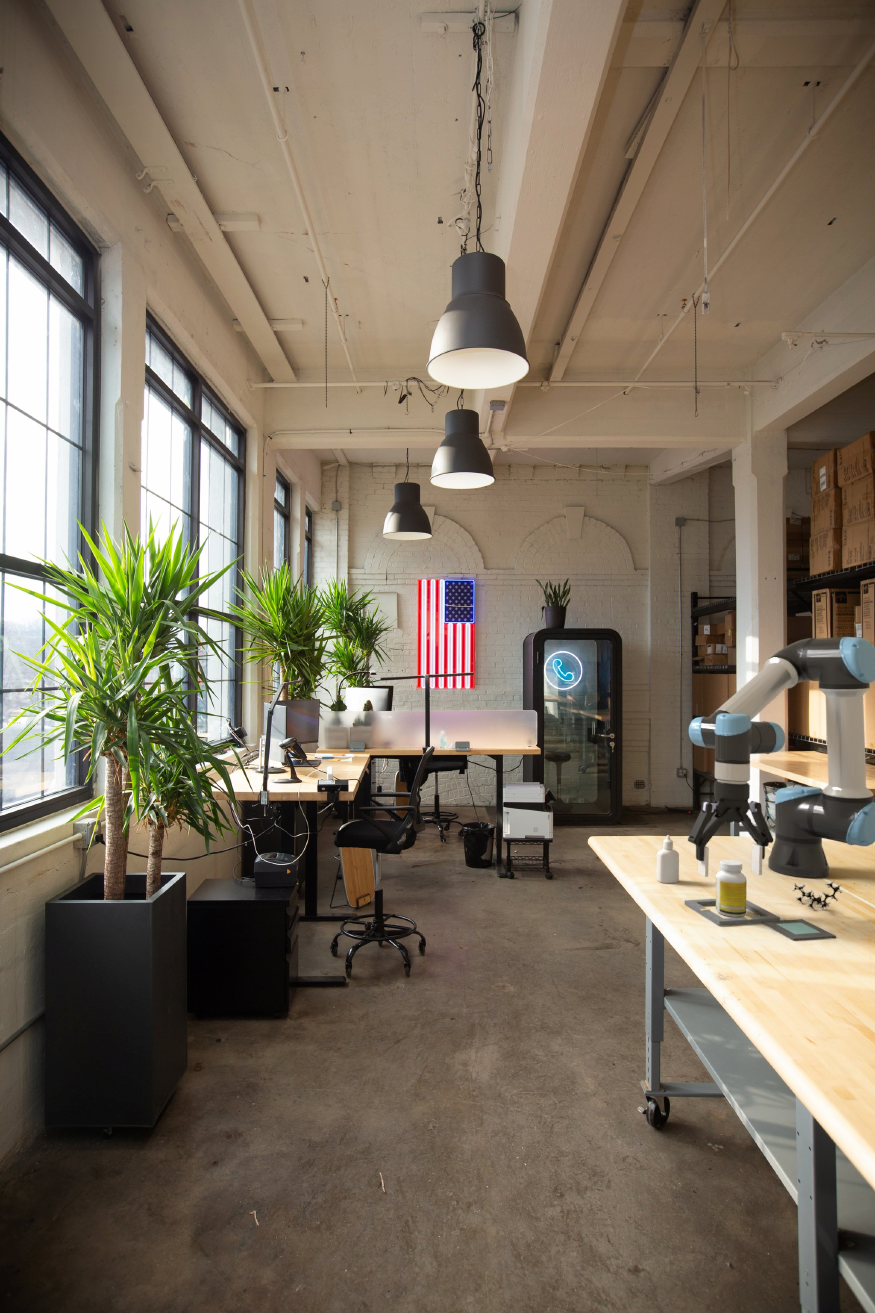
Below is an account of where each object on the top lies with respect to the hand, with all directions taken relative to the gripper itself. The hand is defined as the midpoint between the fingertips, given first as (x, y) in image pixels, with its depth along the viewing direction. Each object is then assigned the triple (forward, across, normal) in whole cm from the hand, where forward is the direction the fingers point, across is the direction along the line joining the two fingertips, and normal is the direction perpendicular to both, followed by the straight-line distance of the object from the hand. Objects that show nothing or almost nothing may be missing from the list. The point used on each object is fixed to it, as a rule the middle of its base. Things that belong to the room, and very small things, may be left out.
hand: (730, 874), depth 162 cm
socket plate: (+9, 0, 0) cm, 9 cm away
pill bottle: (+9, 0, 0) cm, 9 cm away
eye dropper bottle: (+9, +2, -25) cm, 26 cm away
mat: (+9, -8, +12) cm, 17 cm away
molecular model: (+9, -23, -1) cm, 25 cm away
